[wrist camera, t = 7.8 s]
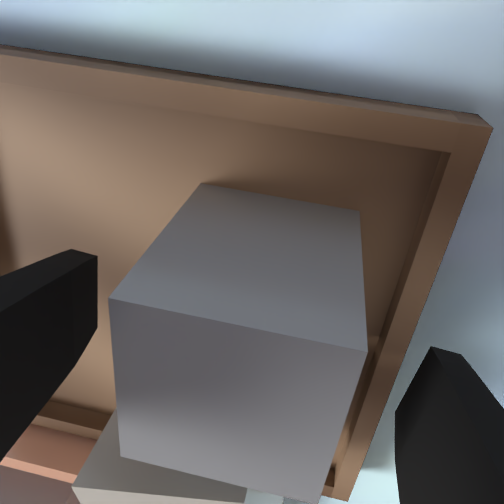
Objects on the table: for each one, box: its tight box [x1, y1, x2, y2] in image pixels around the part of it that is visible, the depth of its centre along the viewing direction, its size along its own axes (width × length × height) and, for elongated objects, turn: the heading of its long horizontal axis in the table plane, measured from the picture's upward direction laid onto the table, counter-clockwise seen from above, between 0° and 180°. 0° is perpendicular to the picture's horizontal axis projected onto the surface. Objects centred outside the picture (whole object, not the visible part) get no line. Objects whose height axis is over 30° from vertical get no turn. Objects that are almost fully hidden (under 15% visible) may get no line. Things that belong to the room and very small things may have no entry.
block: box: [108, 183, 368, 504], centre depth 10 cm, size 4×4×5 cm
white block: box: [71, 407, 284, 504], centre depth 12 cm, size 4×4×5 cm
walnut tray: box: [0, 44, 493, 502], centre depth 13 cm, size 13×13×1 cm
